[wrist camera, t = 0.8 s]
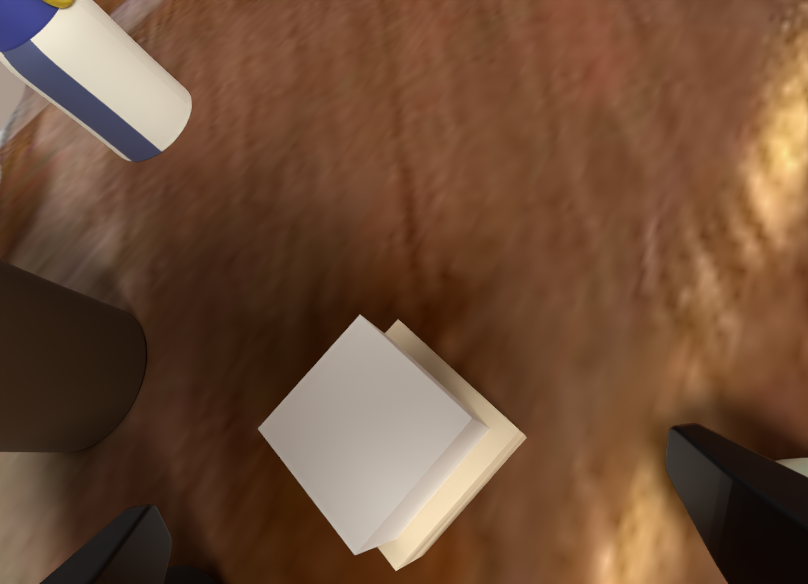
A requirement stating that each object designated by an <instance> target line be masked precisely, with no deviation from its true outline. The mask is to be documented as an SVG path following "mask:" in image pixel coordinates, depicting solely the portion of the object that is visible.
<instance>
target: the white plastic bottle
mask: <svg viewBox="0 0 808 584" xmlns="http://www.w3.org/2000/svg"><path fill="white" fill-rule="evenodd" d="M0 61H1V62H2V63H3V64H4V65H5V66H6V67H7V68H8V69H9V70H10V71H11V72H12V73H13V74H14V75H16V76H17V77H18V78H19V79H20V80H22V81H23V82H24V83H26V84H27V85H28V86H30V87H31V88H32V89H34V90H35V91H36V92H38V93H39V94H40V95H42V96H43V97H44V98H46V99H47V100H49V101H50V102H51V103H53V104H54V105H55V106H57V107H58V108H59V109H61V110H62V111H63V112H65V113H66V114H67V115H69V116H70V117H71V118H73V119H74V120H75V121H76V122H78V123H79V124H80V125H82V126H83V127H84V128H85V129H87V130H88V131H89V132H91V133H92V134H93V135H94V136H96V137H97V138H98V139H99V140H101V141H102V142H103V143H104V144H106V145H107V146H108V147H109V148H111V149H112V150H113V151H114V152H115V153H117V154H118V155H119V156H120V157H122V158H123V159H125V160H128V161H143V160H146V159H149V158H152V157H154V156H156V155H157V154H159V153H161V152H162V151H163V150H165V149H166V148H167V147H169V146H170V145H171V144H172V143H173V142H174V141H175V140H176V139H177V137H178V136H179V135H180V134H181V132H182V131H183V129H184V127H185V126H186V124H187V122H188V119H189V117H190V113H191V109H192V100H191V96H190V94H189V92H188V91H187V90H186V89H185V88H184V87H183V86H182V85H181V84H180V83H179V82H178V81H177V80H175V79H174V78H173V77H172V76H171V75H170V74H169V73H168V72H167V71H166V70H165V69H163V68H162V67H161V66H160V65H159V64H158V63H157V62H156V61H155V60H154V59H153V58H152V57H151V56H150V55H148V54H147V53H146V52H145V51H144V50H143V49H142V48H141V47H140V46H139V45H138V44H137V43H136V42H135V41H134V40H133V39H132V38H131V37H130V36H129V35H128V34H127V33H126V32H125V31H124V30H123V29H122V28H121V27H120V26H119V25H118V24H117V23H116V22H114V21H113V20H112V19H111V18H110V17H109V16H108V15H107V14H106V13H105V12H104V11H103V10H102V9H101V8H100V7H99V6H98V5H97V4H96V3H95V2H94V1H93V0H0Z"/></svg>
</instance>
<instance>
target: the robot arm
mask: <svg viewBox="0 0 808 584" xmlns="http://www.w3.org/2000/svg"><path fill="white" fill-rule="evenodd" d="M665 466H666V470H667V473H668V476H669V478H670V480H671V482H672V484H673V485H674V487H675V489H676V491H677V493H678V495H679V497H680V499H681V500H682V502H683V504H684V506H685V508H686V510H687V512H688V514H689V515H690V517H691V519H692V521H693V523H694V525H695V527H696V529H697V531H698V532H699V534H700V536H701V538H702V540H703V542H704V544H705V546H706V547H707V549H708V551H709V553H710V555H711V556H712V558H713V560H714V562H715V563H716V565H717V567H718V568H719V570H720V571H721V573H722V575H723V576H724V578H725V579H726V581H727V582H728V584H808V477H807V476H804V475H802V474H800V473H798V472H796V471H794V470H792V469H790V468H788V467H786V466H784V465H782V464H780V463H778V462H776V461H774V460H772V459H770V458H767V457H765V456H763V455H761V454H759V453H757V452H755V451H753V450H751V449H749V448H747V447H745V446H743V445H741V444H739V443H737V442H735V441H733V440H730V439H728V438H726V437H724V436H722V435H720V434H718V433H716V432H714V431H712V430H710V429H708V428H706V427H704V426H702V425H699V424H696V423H689V424H682V425H675V426H673V427H671V428H670V430H669V433H668V440H667V449H666V458H665ZM171 549H172V540H171V535H170V533H169V531H168V529H167V527H166V525H165V523H164V521H163V519H162V516H161V514H160V512H159V510H158V509H157V507H156V506H154V505H151V504H147V505H141V506H134V507H130V508H128V509H126V510H125V511H124V512H122V513H121V514H120V515H119V516H118V517H117V518H115V519H114V520H113V521H112V522H111V523H110V524H108V525H107V526H106V527H105V528H104V529H103V530H101V531H100V532H99V533H98V534H97V535H96V536H94V537H93V538H92V539H91V540H90V541H89V542H87V543H86V544H85V545H84V546H83V547H82V548H80V549H79V550H78V551H77V552H76V553H75V554H73V555H72V556H71V557H70V558H69V559H68V560H67V561H65V562H64V563H63V564H62V565H61V566H60V567H58V568H57V569H56V570H55V571H54V572H53V573H51V574H50V575H49V576H48V577H47V578H46V579H44V580H43V581H42V582H41V583H40V584H163V583H164V579H165V575H166V571H167V567H168V563H169V559H170V554H171Z"/></svg>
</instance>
